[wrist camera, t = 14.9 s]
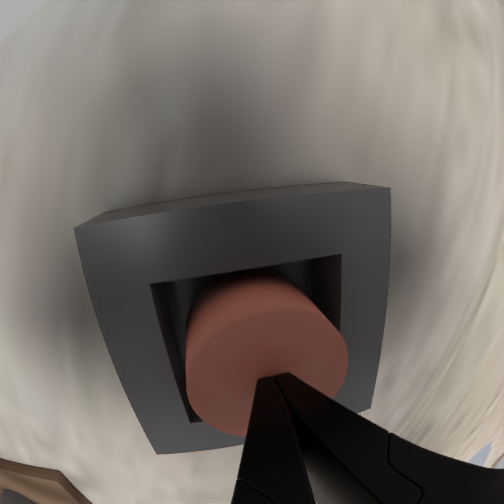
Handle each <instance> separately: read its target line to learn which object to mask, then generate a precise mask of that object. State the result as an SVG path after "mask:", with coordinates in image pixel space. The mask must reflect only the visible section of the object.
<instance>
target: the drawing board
mask: <svg viewBox="0 0 504 504" xmlns="http://www.w3.org/2000/svg"><path fill="white" fill-rule="evenodd" d="M3 489H9V490H12V491H15V492H17V493H19V494H21V495H23V496H25V497H26V498H28V499H30V500H31V501H33V502H34V503H36V504H91V503H90V502H89V501H88V500H87V499H86V498H85V497H84V496H83V495H82V494H81V493H80V492H79V491H78V490H77V489H76V488H75V487H74V486H73V485H72V484H71V483H70V482H69V481H68V480H67V479H66V478H65V476H64V475H63V474H62V473H61V472H60V471H55V470H49V469H43V468H38V467H33V466H28V465H23V464H19V463H15V462H11V461H7V460H3V459H0V497H1V494H2V491H3Z"/></svg>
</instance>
